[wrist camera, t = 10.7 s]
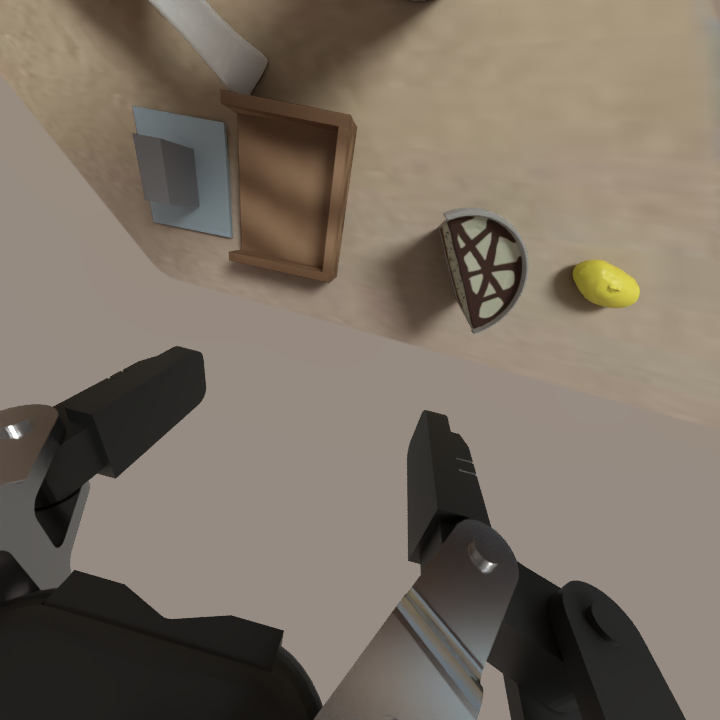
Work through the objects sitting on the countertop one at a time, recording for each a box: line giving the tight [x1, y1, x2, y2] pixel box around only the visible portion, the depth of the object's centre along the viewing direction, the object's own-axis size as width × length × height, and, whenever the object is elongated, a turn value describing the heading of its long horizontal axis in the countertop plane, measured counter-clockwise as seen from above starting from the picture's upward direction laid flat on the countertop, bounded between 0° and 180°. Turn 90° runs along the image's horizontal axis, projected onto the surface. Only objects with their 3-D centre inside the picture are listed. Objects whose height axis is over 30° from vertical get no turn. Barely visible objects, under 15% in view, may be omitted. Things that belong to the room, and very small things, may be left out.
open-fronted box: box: [220, 90, 357, 282], centre depth 31 cm, size 16×13×4 cm
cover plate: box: [132, 106, 233, 238], centre depth 32 cm, size 12×11×6 cm
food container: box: [438, 208, 528, 334], centre depth 29 cm, size 12×6×10 cm, turn 22°
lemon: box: [573, 260, 640, 308], centre depth 31 cm, size 4×8×4 cm, turn 57°
